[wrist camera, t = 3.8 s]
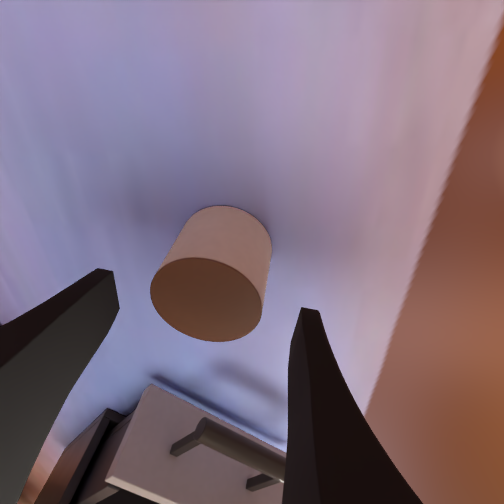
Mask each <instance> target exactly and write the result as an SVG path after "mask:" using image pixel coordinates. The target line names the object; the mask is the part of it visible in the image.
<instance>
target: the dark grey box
mask: <svg viewBox="0 0 504 504" xmlns="http://www.w3.org/2000/svg"><path fill="white" fill-rule="evenodd" d="M125 418H126V417H125V416H122V415H120V414H118V413H116V412H114V411H112V410H110V409H106V410H105V411H104V412H103V413H102V414H101V415H100V416H99V417H98V418H97V419H96V420H95V421H94V422H93V423H92V424H90V425H89V426H88V427H87V428H86V429H85V430H84V431H83V432H82V433H81V434H80V435H79V436H78V437H77V438H76V439H75V440H74V441H73V442H72V443H71V444H70V445H68V446H67V447H66V448H65V450H64V451H63V453H62V456H61V457H60V459H59V460H58V462H57V464H56V466H55V467H54V469H53V471H52V473H51V474H50V476H49V478H48V480H47V482H46V483H45V485H44V487H43V489H42V490H41V492H40V494H39V496H38V498H37V499H36V501H35V503H34V504H70V502H71V499H72V497H73V495H74V493H75V491H76V489H77V487H78V485H79V483H80V481H81V479H82V477H83V475H84V473H85V471H86V469H87V467H88V465H89V463H90V461H91V459H92V457H93V455H94V453H95V451H96V449H97V447H98V445H99V443H100V441H101V438H102V437H104V436H105V435H106V434H107V433H108V432H109V431H111V430H112V429H113V428H114V427H115V426H117V425H118V424H119V423H120V422H121V421H123V420H124V419H125Z"/></svg>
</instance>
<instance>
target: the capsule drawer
mask: <svg viewBox="0 0 504 504" xmlns="http://www.w3.org/2000/svg"><path fill="white" fill-rule="evenodd" d="M285 464H286V453H285V452H283V451H281V450H279V449H278V448H276V447H274V446H272V445H270V444H268V443H266V442H264V441H262V440H260V439H258V438H256V437H254V436H252V435H250V434H248V433H246V432H244V431H243V430H241V429H239V428H237V427H235V426H233V425H231V424H229V423H227V422H225V421H223V420H221V419H219V418H217V417H215V416H213V415H211V414H210V413H208V412H206V411H204V410H202V409H200V408H198V407H196V406H194V405H192V404H190V403H188V402H186V401H184V400H182V399H180V398H178V397H176V396H175V395H173V394H171V393H169V392H167V391H165V390H163V389H161V388H159V387H157V386H155V385H153V384H151V385H149V386H148V387H147V388H146V389H145V390H144V392H143V394H142V396H141V399H140V401H139V403H138V406H137V408H136V410H134V411H133V412H132V413H131V414H130V415H129V416H127V417H126V418H125V419H124V420H123V421H121V422H120V423H119V424H118V425H117V426H115V427H114V428H113V429H112V430H111V431H109V432H108V433H107V434H106V435H105V436H104V437H102V438H101V441H100V443H99V445H98V447H97V449H96V451H95V453H94V455H93V457H92V459H91V461H90V463H89V465H88V467H87V469H86V471H85V473H84V475H83V477H82V479H81V481H80V483H79V485H78V487H77V489H76V491H75V493H74V495H73V497H72V499H71V502H70V504H282V496H283V485H284V475H285Z"/></svg>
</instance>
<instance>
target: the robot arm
mask: <svg viewBox="0 0 504 504" xmlns="http://www.w3.org/2000/svg"><path fill="white" fill-rule="evenodd" d="M119 309H120V307H119V302H118V296H117V290H116V285H115V279H114V274H113V271H110V270H105V269H100V268H97V269H95V270H94V271H92V272H91V273H89V274H87V275H86V276H84V277H83V278H81V279H80V280H78V281H77V282H75V283H74V284H72V285H70V286H69V287H67V288H66V289H64V290H63V291H61V292H59V293H58V294H56V295H55V296H53V297H51V298H50V299H48V300H47V301H45V302H43V303H42V304H40V305H38V306H37V307H35V308H33V309H31V310H30V311H28V312H26V313H24V314H23V315H21V316H19V317H18V318H16V319H14V320H12V321H10V322H8V323H7V324H5V325H3V326H1V327H0V504H17V502H18V500H19V497H20V495H21V493H22V490H23V488H24V486H25V483H26V481H27V479H28V476H29V474H30V472H31V470H32V468H33V465H34V463H35V461H36V459H37V457H38V454H39V452H40V450H41V448H42V446H43V444H44V442H45V440H46V438H47V436H48V434H49V432H50V430H51V427H52V425H53V423H54V421H55V419H56V417H57V416H58V414H59V412H60V410H61V408H62V406H63V404H64V402H65V400H66V398H67V396H68V395H69V393H70V391H71V390H72V388H73V386H74V385H75V383H76V381H77V380H78V378H79V377H80V375H81V374H82V372H83V371H84V369H85V368H86V366H87V365H88V363H89V362H90V360H91V358H92V357H93V355H94V354H95V352H96V351H97V349H98V348H99V346H100V345H101V343H102V342H103V340H104V338H105V337H106V335H107V334H108V332H109V330H110V328H111V326H112V324H113V322H114V320H115V318H116V316H117V313H118V311H119ZM282 504H423V503H422V502H421V500H420V499H419V498H418V496H417V495H416V494H415V492H414V491H413V490H412V489H411V487H410V486H409V485H408V483H407V482H406V480H405V479H404V478H403V476H402V475H401V473H400V472H399V471H398V469H397V468H396V467H395V465H394V464H393V462H392V461H391V459H390V458H389V456H388V455H387V453H386V452H385V450H384V449H383V447H382V446H381V444H380V442H379V441H378V439H377V438H376V436H375V435H374V433H373V432H372V430H371V428H370V427H369V425H368V423H367V422H366V420H365V418H364V416H363V415H362V413H361V411H360V409H359V407H358V406H357V404H356V402H355V400H354V398H353V396H352V394H351V392H350V390H349V388H348V386H347V384H346V382H345V380H344V378H343V376H342V373H341V371H340V369H339V367H338V364H337V362H336V359H335V357H334V354H333V352H332V349H331V347H330V344H329V341H328V338H327V335H326V332H325V329H324V326H323V323H322V319H321V315H320V313H319V311H318V310H313V309H308V308H303V307H301V310H300V313H299V317H298V320H297V323H296V327H295V330H294V333H293V337H292V340H291V345H290V354H289V364H288V441H287V453H286V464H285V475H284V485H283V496H282Z"/></svg>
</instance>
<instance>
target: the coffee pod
mask: <svg viewBox="0 0 504 504" xmlns="http://www.w3.org/2000/svg"><path fill="white" fill-rule="evenodd" d="M271 254H272V244H271V240H270V237H269V235H268V233H267V231H266V229H265V228H264V226H263V225H262V224H261V223H260V222H259V221H258V220H257V219H256V218H255V217H253V216H252V215H250V214H249V213H247V212H245V211H243V210H240V209H238V208H234V207H230V206H212V207H208V208H204V209H202V210H200V211H198V212H196V213H195V214H193V215H192V216H191V217H190V218H189V219H188V221H187V222H186V224H185V225H184V227H183V229H182V230H181V232H180V234H179V236H178V237H177V239H176V241H175V242H174V244H173V246H172V247H171V249H170V251H169V252H168V254H167V256H166V257H165V259H164V261H163V263H162V264H161V266H160V268H159V269H158V271H157V273H156V274H155V276H154V278H153V280H152V282H151V287H150V295H151V300H152V303H153V305H154V307H155V309H156V311H157V312H158V314H159V315H160V316H161V317H162V318H163V319H164V320H165V321H166V322H167V323H168V324H169V325H170V326H172V327H173V328H175V329H176V330H178V331H180V332H181V333H183V334H186V335H188V336H190V337H193V338H196V339H200V340H205V341H212V342H225V341H232V340H236V339H239V338H241V337H243V336H246V335H247V334H249V333H250V332H251V331H252V330H253V329H255V327H256V326H257V325H258V323H259V321H260V318H261V315H262V309H263V302H264V296H265V290H266V284H267V278H268V272H269V266H270V260H271Z"/></svg>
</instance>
